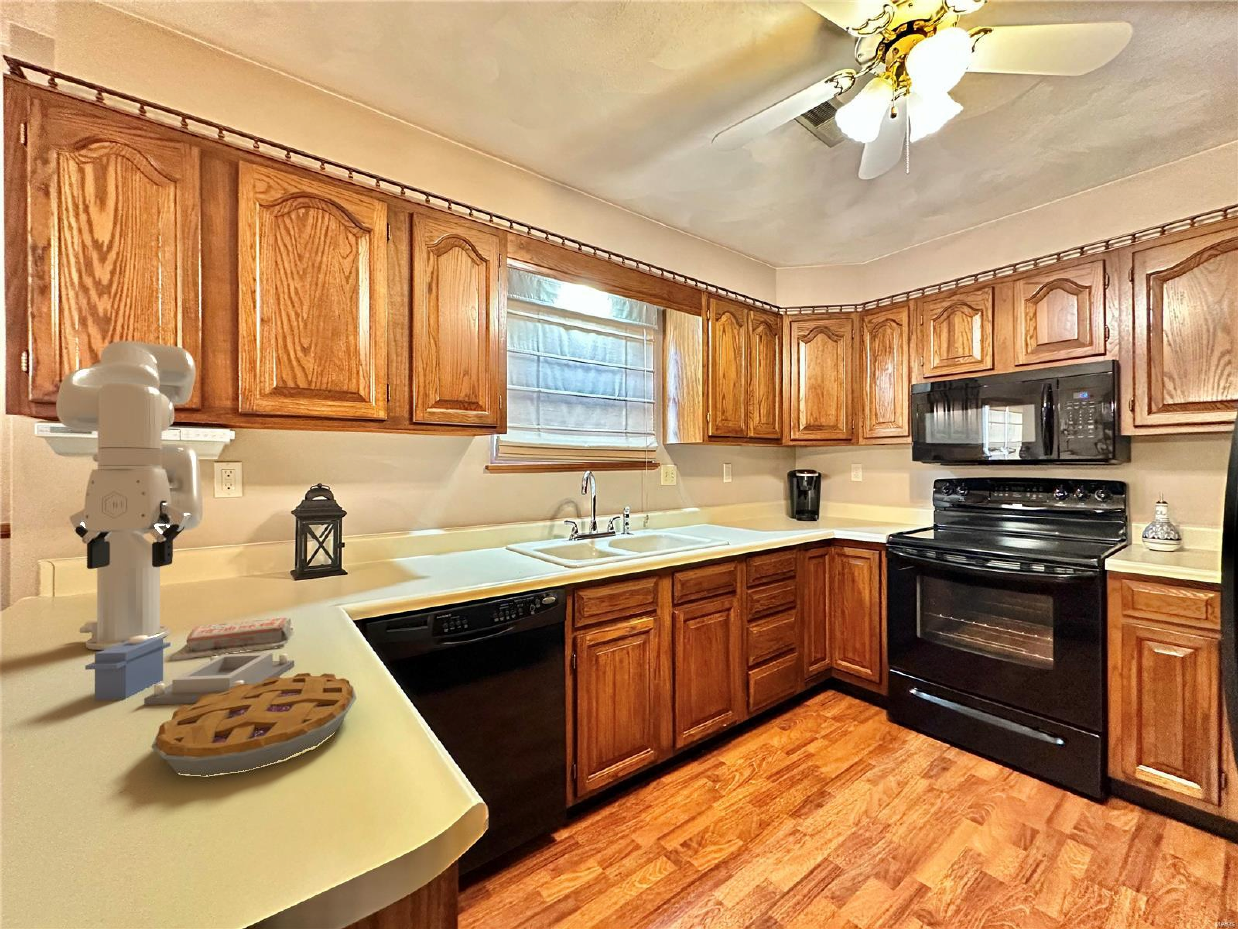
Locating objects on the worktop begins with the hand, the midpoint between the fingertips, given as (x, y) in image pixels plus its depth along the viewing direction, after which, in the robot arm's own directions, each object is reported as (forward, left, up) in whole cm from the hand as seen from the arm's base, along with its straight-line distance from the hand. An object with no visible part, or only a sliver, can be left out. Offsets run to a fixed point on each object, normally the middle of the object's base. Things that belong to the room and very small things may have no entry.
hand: (130, 566), depth 82 cm
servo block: (0, 0, -20) cm, 20 cm away
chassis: (+14, +1, -20) cm, 24 cm away
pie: (+30, -16, -20) cm, 40 cm away
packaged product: (+3, +20, -21) cm, 29 cm away
